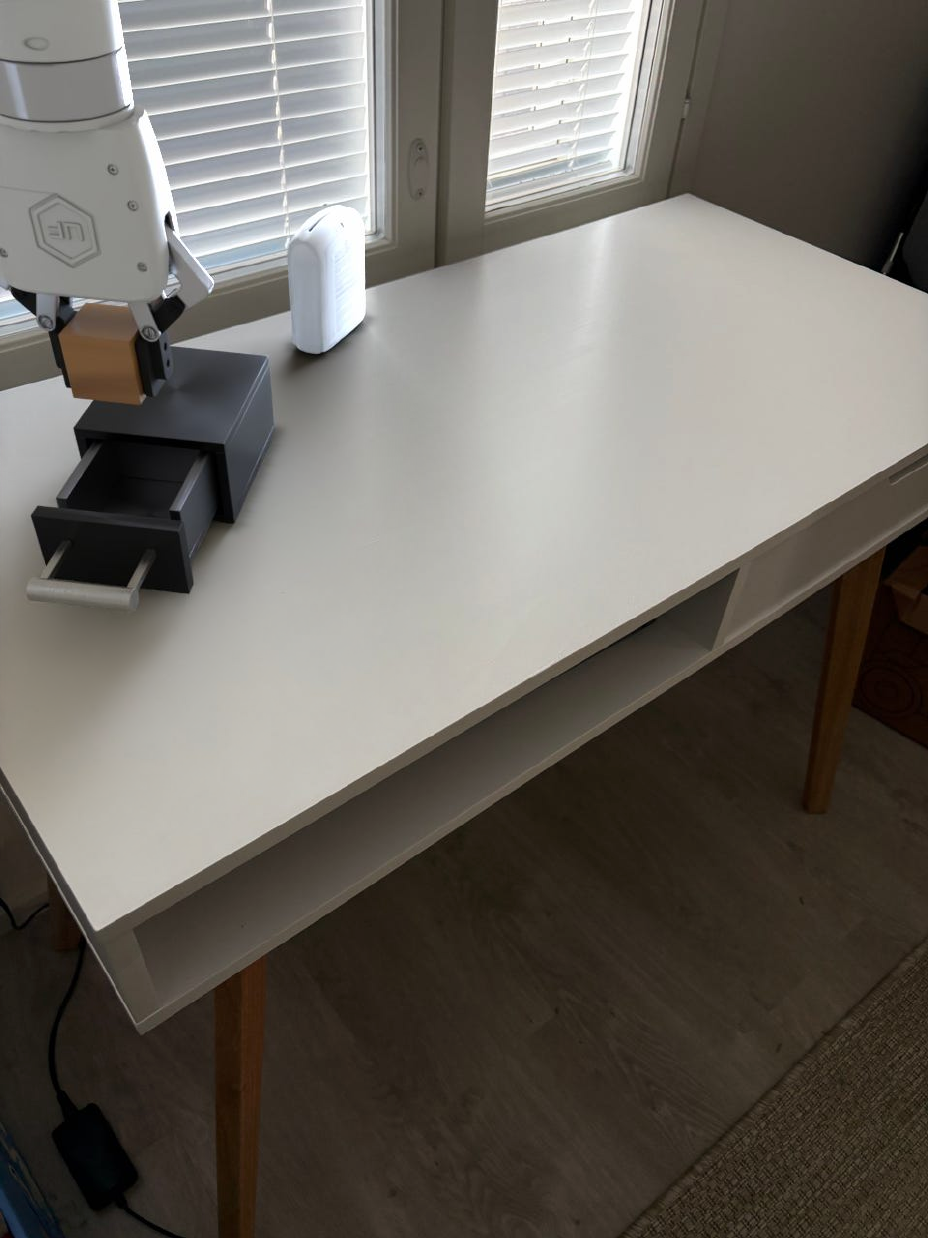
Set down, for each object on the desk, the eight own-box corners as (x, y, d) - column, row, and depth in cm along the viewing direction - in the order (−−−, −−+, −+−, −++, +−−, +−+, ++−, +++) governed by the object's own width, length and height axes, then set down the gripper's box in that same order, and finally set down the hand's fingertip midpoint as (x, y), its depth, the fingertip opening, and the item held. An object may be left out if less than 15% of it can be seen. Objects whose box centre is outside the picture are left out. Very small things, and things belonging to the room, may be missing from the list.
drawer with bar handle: (163, 650, 69) (150, 586, 65) (15, 633, 69) (-7, 569, 65) (235, 493, 82) (228, 432, 78) (110, 479, 83) (96, 418, 79)
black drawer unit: (234, 524, 81) (224, 443, 76) (92, 508, 81) (72, 427, 76) (275, 432, 91) (268, 355, 86) (148, 418, 91) (134, 341, 86)
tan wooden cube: (140, 405, 65) (128, 341, 62) (72, 398, 66) (57, 334, 62) (163, 370, 69) (153, 308, 66) (98, 364, 69) (85, 301, 66)
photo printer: (335, 308, 109) (331, 191, 100) (370, 317, 108) (369, 199, 99) (286, 349, 102) (277, 227, 93) (324, 359, 101) (319, 237, 92)
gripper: (-132, 87, 52) (-32, 398, 65) (189, 118, 51) (228, 426, 64) (-61, 49, 58) (19, 342, 70) (230, 76, 57) (258, 367, 69)
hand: (118, 379), depth 67 cm, fingers closed on tan wooden cube, 4 cm apart
